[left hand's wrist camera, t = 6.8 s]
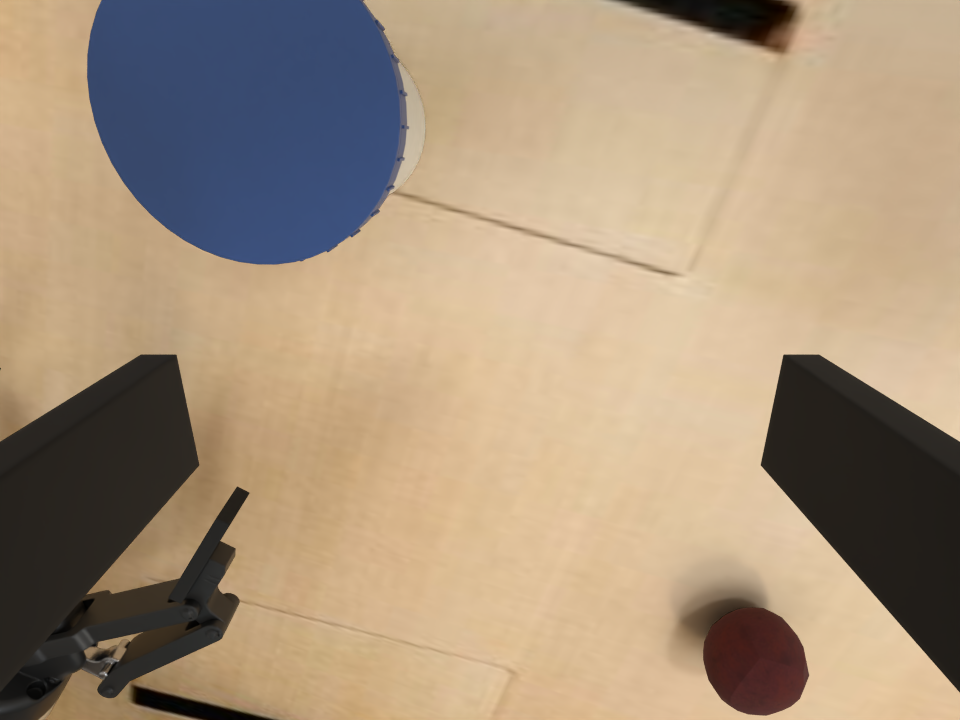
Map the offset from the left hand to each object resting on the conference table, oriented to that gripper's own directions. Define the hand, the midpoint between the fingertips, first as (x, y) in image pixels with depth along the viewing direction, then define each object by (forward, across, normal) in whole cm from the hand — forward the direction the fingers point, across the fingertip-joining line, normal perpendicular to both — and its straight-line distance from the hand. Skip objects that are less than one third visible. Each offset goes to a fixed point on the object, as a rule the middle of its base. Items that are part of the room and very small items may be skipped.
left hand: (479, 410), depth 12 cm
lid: (+10, +8, -7) cm, 14 cm away
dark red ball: (+25, -21, +32) cm, 46 cm away
